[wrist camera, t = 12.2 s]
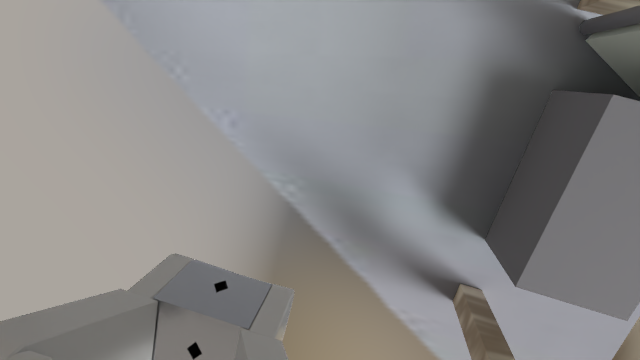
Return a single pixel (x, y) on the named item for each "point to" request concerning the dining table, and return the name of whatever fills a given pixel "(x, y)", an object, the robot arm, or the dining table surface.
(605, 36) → the door
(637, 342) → the door frame
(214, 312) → the robot arm
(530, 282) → the block
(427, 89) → the dining table surface
